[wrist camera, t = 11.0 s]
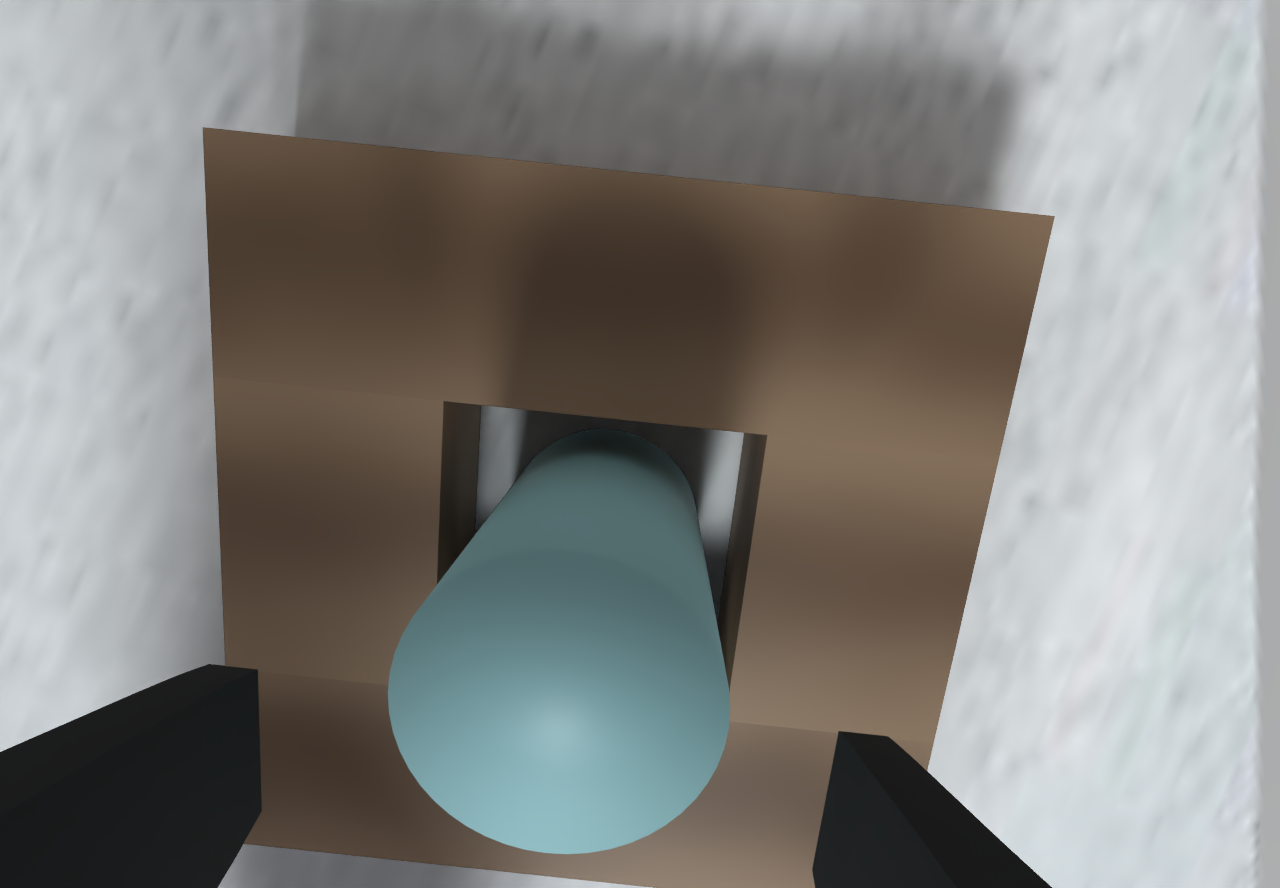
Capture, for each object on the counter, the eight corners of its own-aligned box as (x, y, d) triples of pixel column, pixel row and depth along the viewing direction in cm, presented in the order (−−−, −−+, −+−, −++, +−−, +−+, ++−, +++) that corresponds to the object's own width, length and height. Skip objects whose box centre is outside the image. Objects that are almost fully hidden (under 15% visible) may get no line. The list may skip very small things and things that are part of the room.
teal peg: (685, 614, 18) (707, 870, 10) (506, 595, 18) (385, 835, 10) (707, 440, 16) (753, 569, 9) (516, 419, 16) (390, 531, 9)
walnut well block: (857, 817, 19) (894, 913, 16) (298, 756, 19) (232, 842, 16) (978, 231, 15) (1054, 216, 12) (290, 159, 15) (202, 127, 12)
